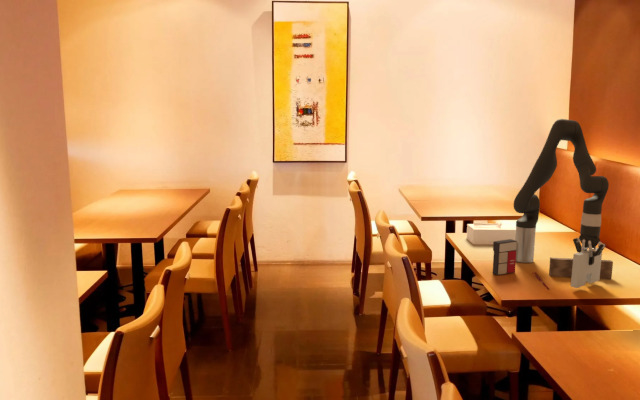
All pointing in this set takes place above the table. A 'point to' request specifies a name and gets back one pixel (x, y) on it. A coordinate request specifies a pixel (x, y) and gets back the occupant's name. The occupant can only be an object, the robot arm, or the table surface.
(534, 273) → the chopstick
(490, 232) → the tissue box
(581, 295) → the table surface
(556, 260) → the walnut board
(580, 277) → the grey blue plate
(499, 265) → the grey red box
